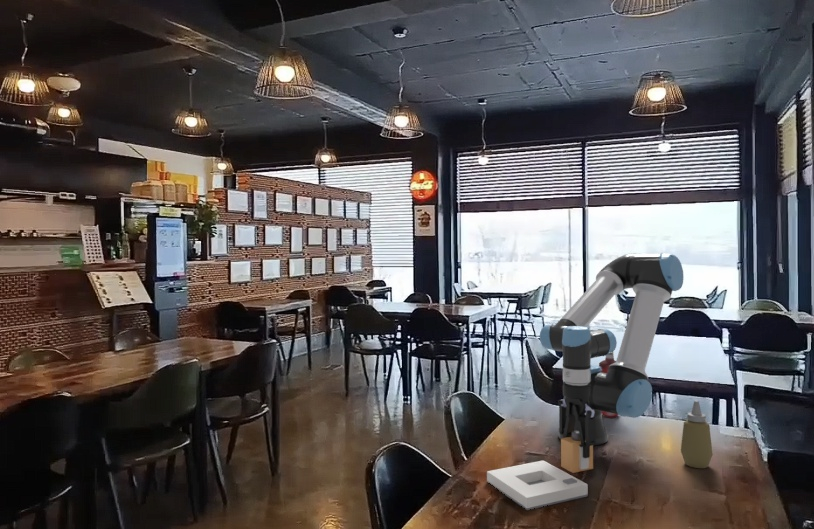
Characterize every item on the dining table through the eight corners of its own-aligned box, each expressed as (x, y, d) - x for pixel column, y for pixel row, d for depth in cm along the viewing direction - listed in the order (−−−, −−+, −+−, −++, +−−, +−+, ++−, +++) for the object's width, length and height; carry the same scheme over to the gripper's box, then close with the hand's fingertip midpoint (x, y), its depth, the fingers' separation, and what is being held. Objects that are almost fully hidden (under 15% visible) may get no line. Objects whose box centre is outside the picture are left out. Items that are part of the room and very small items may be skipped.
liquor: (599, 412, 218) (599, 336, 217) (620, 413, 215) (620, 337, 214) (598, 417, 211) (598, 340, 210) (620, 419, 208) (620, 340, 207)
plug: (561, 466, 166) (560, 431, 165) (581, 462, 168) (580, 428, 168) (572, 472, 161) (572, 436, 161) (593, 468, 164) (592, 433, 163)
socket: (487, 482, 155) (486, 469, 155) (543, 471, 163) (543, 458, 162) (527, 510, 139) (526, 496, 139) (587, 496, 146) (587, 482, 146)
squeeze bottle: (716, 471, 160) (716, 406, 160) (684, 469, 162) (684, 404, 161) (707, 460, 168) (707, 398, 168) (677, 459, 170) (677, 397, 169)
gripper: (545, 377, 171) (546, 456, 171) (587, 391, 154) (588, 478, 155) (566, 374, 174) (567, 452, 174) (610, 387, 157) (610, 474, 158)
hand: (577, 464), depth 165 cm, fingers closed on plug, 5 cm apart
